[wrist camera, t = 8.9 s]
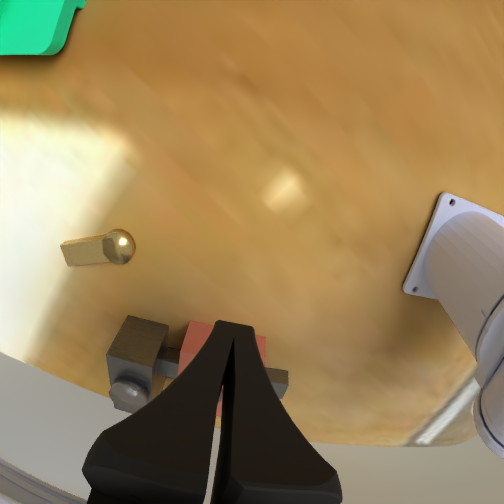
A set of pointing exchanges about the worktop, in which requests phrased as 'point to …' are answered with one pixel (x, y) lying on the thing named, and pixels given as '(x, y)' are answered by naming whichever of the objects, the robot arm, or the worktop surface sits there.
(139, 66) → the worktop surface
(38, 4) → the camera mount
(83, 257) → the key
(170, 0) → the worktop surface
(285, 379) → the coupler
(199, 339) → the lock
